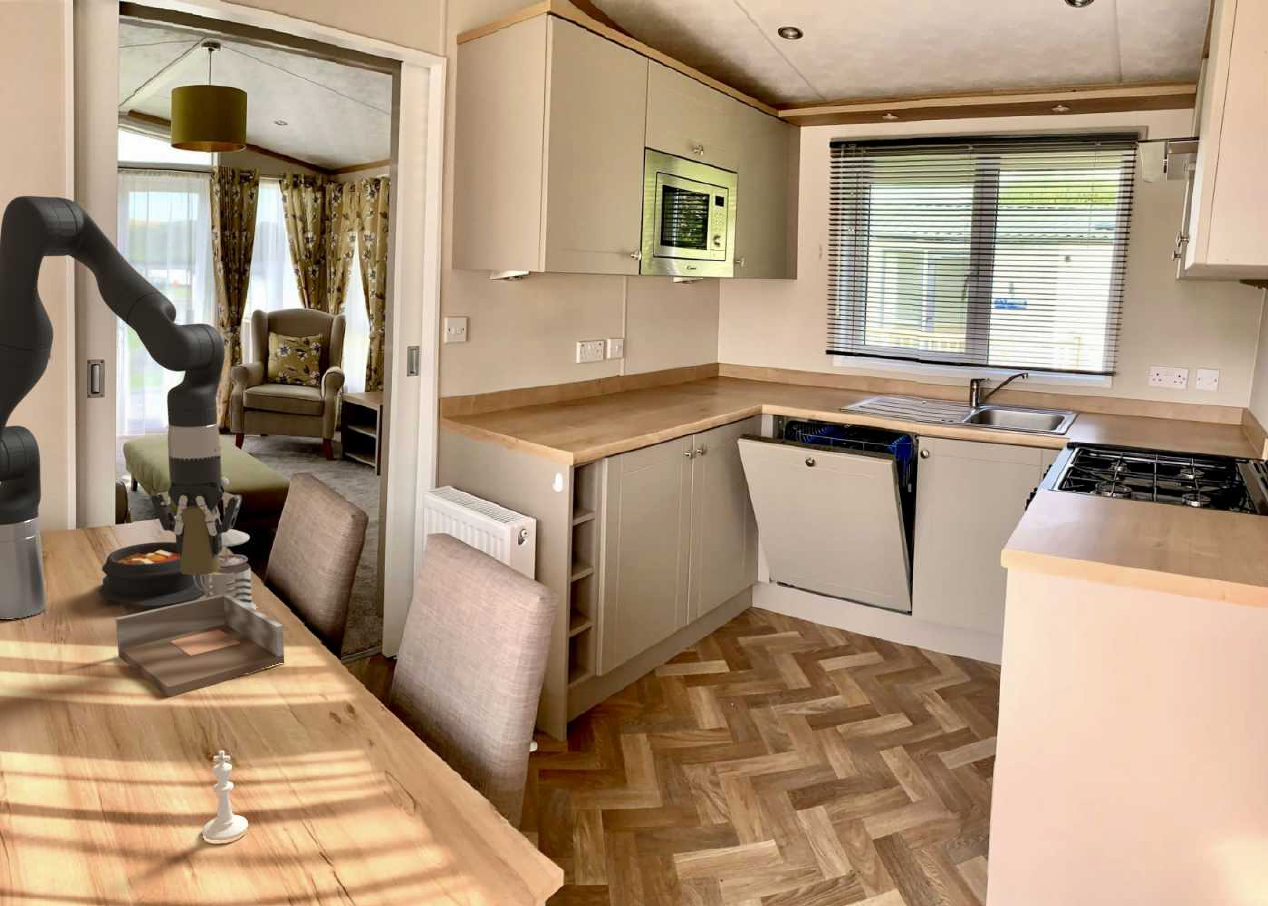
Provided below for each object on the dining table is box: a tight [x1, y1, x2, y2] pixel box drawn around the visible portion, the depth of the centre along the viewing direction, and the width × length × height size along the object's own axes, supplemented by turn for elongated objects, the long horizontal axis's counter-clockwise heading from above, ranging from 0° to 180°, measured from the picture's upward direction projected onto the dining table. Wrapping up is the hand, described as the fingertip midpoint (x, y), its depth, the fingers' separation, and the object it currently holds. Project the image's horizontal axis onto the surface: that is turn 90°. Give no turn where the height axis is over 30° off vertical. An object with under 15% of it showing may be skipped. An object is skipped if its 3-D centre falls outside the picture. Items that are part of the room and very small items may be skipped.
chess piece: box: [202, 750, 249, 841], centre depth 111 cm, size 5×5×10 cm
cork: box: [180, 505, 221, 575], centre depth 158 cm, size 6×6×11 cm
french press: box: [193, 477, 258, 610], centre depth 176 cm, size 10×12×25 cm
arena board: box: [115, 593, 285, 698], centre depth 157 cm, size 20×18×6 cm
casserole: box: [98, 541, 205, 609], centre depth 186 cm, size 25×19×8 cm
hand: (200, 555), depth 158 cm, fingers closed on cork, 4 cm apart
